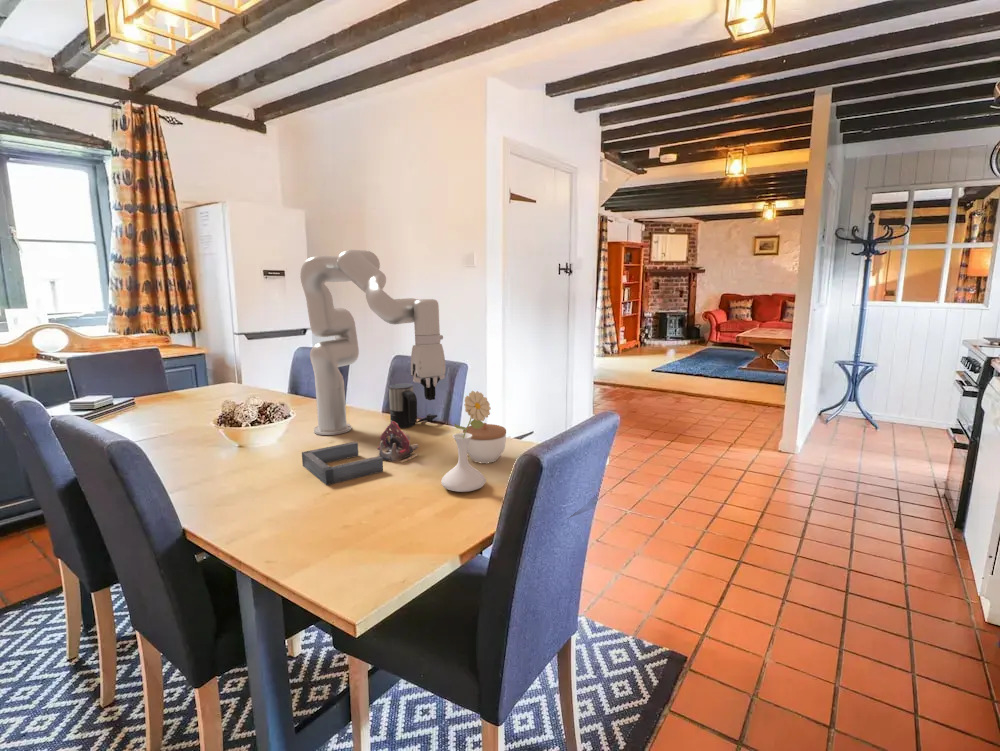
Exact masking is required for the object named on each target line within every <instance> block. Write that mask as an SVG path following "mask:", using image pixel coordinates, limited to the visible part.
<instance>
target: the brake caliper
mask: <svg viewBox="0 0 1000 751" xmlns="http://www.w3.org/2000/svg"><path fill="white" fill-rule="evenodd" d="M388 437H389V438H388ZM410 441H411V437H410V435H409V434H408V433H407V432H406V431H405V430H402V428H400V427H399V426H398V423H396V422H394V421H392V422H391V421H390V423H389V425H387V427H386V428H385V429H384V431H383V432H382V433H381V435H380V444H379V446H377V447H376V449H377V450H378V452H379V453H378V454H379V455H378V456H380V457H382V458H383V461H390V462H397V461H398V462H400V463H403V462H406V461H410V460H412V459H413V458H416V457H417V456H418V455H419V454H417V453H415V454H413V452H414V451H416V450H417V449H418V448H419V444H418V443H413V444H411V443H410ZM412 454H413V455H412ZM410 455H411V456H410ZM415 456H416V457H415Z"/></svg>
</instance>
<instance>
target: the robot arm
mask: <svg viewBox="0 0 1000 751" xmlns="http://www.w3.org/2000/svg"><path fill="white" fill-rule="evenodd" d="M380 268H381V263H380V259H379V258H378V256H377V255H376V254H375V253H374V252H373V251H371V250H366V249H365V250H364V249H363V250H362V249H347V250H344V251H342V252H341V253H339V255H338V256H335V255H314V256H312V257H309V258H307V259H306V260H305V261H304V262H303V263H302V265H301V268H300V271H299V272H300V273H299V274H300V276H299V277H300V283H301V287H302V289H303V292H304V295H305V301H306V306H307V307H306V308H307V314H308V321H309V326H310V331H311V332H312V334H313V335H314V336H315V337H318V338H328V337H329V338H330V337H335V339H331V340H325V341H324V340H323V341H319V342H317V343H315V344H314V345H313V346H312V348H311V349H310V352H309V358H310V363H311V366H312V370H313V375H314V384H315V385H314V386H315V397H316V412H317V413H316V414H317V424H318V425H317V426H315V427H314V428H313V433H315V434H316V435H320V436H335V435H341V434H342V435H343V434H345V433H348V432H350V431H351V430H352V425H351V423H348V422H347V411H346V410H347V407H346V391H345V390H346V389H345V381H344V376H343V374H342V373H341V371H340V369H339V368H340V367H344V366H345V367H346V366H349V365H353V364H354V363H356V362H357V360H358V358H359V354H360V353H359V352H360V350H359V342H358V334H357V328H356V322H355V320H354V319H355V318H354V316H353V315H352V312H350V311H349V310H348V309H346V308H342V307H335V305H334V301H333V295H332V292H331V290H330V289H329V288H328V286H326V283H335V282H336V283H339V282H340V283H341V282H343V283H344V282H352V284H354V285H356V287H358V288H359V289H360V290H361V291H362V292H364V294H365V299H366V302H367V304H368V307H369V308H370V310H371V311H372V312H373V313H374V314H375V315H376V316H378V318H380V319H381V320H382V321H384V322H386V323H387V324H390V325H404V324H411V323H413V324H414V342H415V343H414V344H413V345H412V348H411V354H410V356H411V357H410V374H411V376H412V377H413V378H412V381H413V382H414V383H417V384H418V383H419V384H421V385H422V387H423V391H424V392H423V393H424V398H425V400H428V401H433V400H436V387H437V385H438V383H439V382H440V380H444V379H445V378H446V375H445V374H446V359H445V353H444V352H445V351H444V348H443V343H441V341H442V340H443V339H444V336H443V334H441V333H440V332H441V331H440V329H441V328H440V308H439V307H440V305H439V301H438V300H436V299H433V298H423V299H422V298H421V299H420V298H414V297H413V298H412V297H411V298H409V297H407V298H395V299H394V298H393V297H391V296H390V295H389V294H388V293H387V292H385V291H384V288H385V286H386V283H387V276H386V274H385V273H384V272H383V271H381V270H380Z"/></svg>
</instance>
